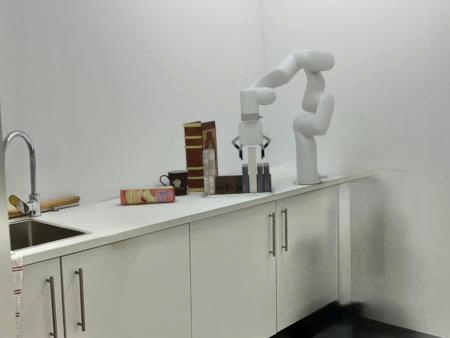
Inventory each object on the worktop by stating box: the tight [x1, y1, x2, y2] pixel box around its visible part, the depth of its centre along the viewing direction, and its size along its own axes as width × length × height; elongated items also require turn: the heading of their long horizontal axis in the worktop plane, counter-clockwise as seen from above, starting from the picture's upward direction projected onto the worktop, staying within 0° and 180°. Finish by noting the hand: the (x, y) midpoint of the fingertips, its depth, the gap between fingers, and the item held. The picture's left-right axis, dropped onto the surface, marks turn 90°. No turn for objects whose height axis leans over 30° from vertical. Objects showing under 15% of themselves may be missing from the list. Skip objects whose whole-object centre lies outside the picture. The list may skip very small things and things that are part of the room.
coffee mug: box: [159, 169, 188, 197], centre depth 267 cm, size 12×9×10 cm
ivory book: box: [247, 146, 258, 194], centre depth 263 cm, size 3×11×18 cm, turn 4°
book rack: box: [203, 149, 273, 197], centre depth 263 cm, size 28×14×19 cm, turn 94°
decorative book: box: [182, 120, 219, 193], centre depth 282 cm, size 22×8×30 cm, turn 168°
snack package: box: [119, 185, 176, 206], centre depth 249 cm, size 21×7×7 cm, turn 98°
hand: (252, 159), depth 262 cm, fingers open, 8 cm apart
